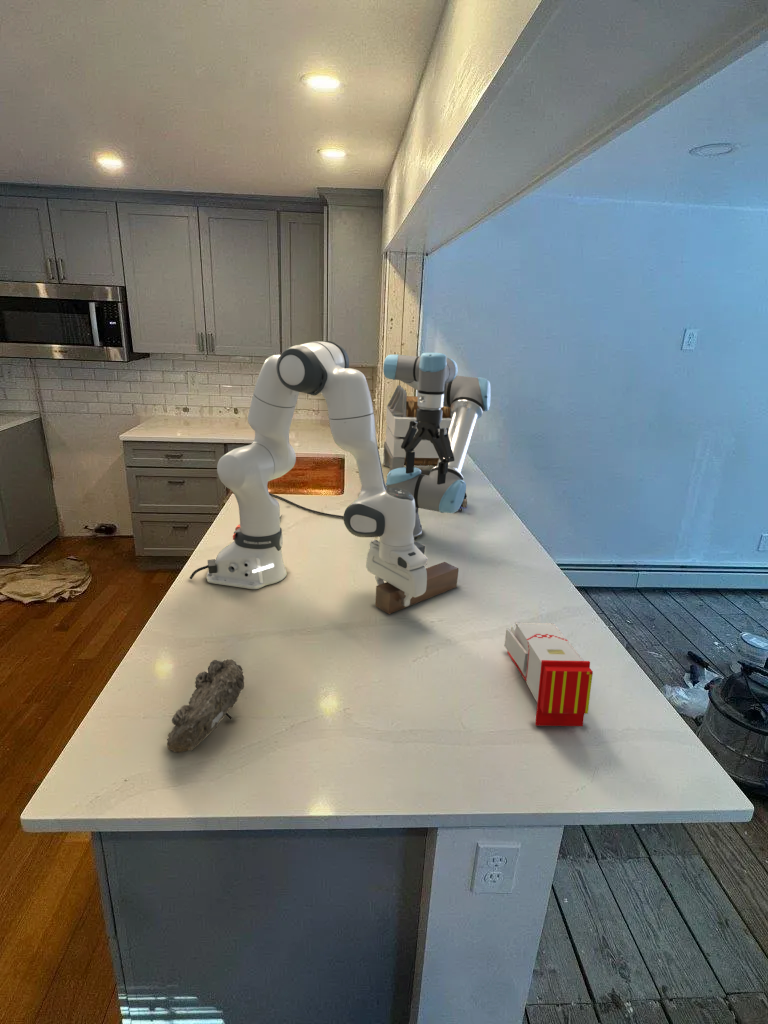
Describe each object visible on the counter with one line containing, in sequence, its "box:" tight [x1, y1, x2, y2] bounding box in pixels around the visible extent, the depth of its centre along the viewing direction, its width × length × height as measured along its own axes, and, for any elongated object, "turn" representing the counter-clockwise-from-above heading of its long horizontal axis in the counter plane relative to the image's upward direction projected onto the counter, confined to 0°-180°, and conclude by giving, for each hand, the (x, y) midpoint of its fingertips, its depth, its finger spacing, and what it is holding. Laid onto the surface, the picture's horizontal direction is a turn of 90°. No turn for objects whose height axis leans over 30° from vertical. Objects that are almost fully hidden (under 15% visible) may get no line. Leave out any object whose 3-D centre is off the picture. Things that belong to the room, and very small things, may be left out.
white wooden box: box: [383, 384, 453, 472], centre depth 268 cm, size 34×33×41 cm
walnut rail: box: [374, 561, 459, 615], centre depth 156 cm, size 6×26×6 cm, turn 131°
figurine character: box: [459, 492, 468, 512], centre depth 228 cm, size 7×8×15 cm
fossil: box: [166, 658, 245, 754], centre depth 106 cm, size 22×10×15 cm
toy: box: [503, 622, 594, 727], centre depth 121 cm, size 12×13×30 cm
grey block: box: [414, 540, 426, 556], centre depth 170 cm, size 5×5×9 cm
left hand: (393, 597), depth 151 cm, fingers open, 8 cm apart
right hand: (424, 478), depth 172 cm, fingers open, 13 cm apart
